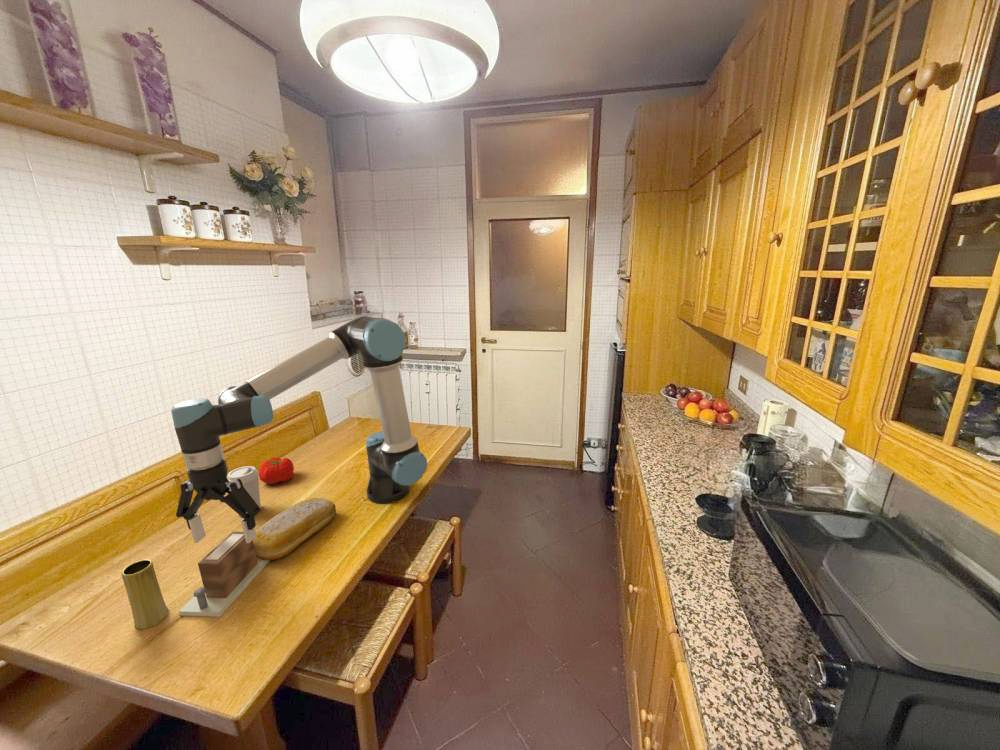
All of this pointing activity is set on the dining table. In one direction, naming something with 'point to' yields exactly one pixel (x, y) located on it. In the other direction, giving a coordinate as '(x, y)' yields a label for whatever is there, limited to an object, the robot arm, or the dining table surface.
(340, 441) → the dining table surface
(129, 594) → the vase
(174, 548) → the dining table surface
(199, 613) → the white board with pegs
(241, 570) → the brown block
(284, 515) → the bread
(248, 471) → the coffee cup
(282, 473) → the tomato
